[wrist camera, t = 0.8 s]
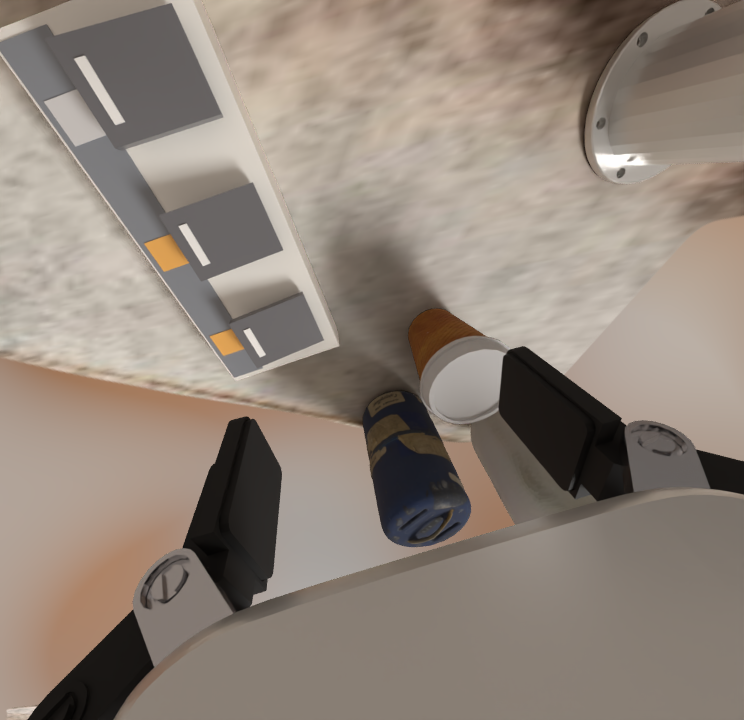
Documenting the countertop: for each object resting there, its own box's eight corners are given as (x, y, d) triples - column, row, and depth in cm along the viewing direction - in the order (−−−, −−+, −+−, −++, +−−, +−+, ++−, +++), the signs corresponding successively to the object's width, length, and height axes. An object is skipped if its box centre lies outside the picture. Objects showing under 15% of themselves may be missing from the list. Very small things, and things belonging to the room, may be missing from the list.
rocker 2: (302, 291, 27) (303, 294, 26) (322, 336, 30) (324, 340, 29) (229, 320, 26) (228, 324, 25) (257, 363, 29) (257, 368, 28)
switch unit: (200, -5, 20) (170, -49, 16) (337, 329, 35) (339, 349, 31) (40, 57, 20) (-28, 29, 16) (243, 361, 35) (233, 385, 31)
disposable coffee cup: (439, 278, 33) (491, 322, 23) (482, 328, 38) (541, 384, 28) (379, 334, 36) (402, 395, 26) (426, 375, 40) (461, 441, 30)
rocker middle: (253, 182, 22) (252, 182, 21) (282, 248, 25) (283, 250, 24) (162, 214, 21) (158, 215, 21) (203, 278, 24) (200, 281, 23)
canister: (348, 409, 42) (363, 541, 26) (404, 374, 40) (455, 494, 25) (384, 443, 46) (414, 571, 31) (435, 413, 45) (493, 534, 29)
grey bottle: (533, 400, 46) (752, 631, 23) (489, 442, 50) (638, 675, 27) (490, 378, 42) (702, 628, 19) (447, 425, 46) (577, 680, 23)
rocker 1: (176, 12, 17) (171, 2, 16) (223, 117, 20) (221, 113, 19) (55, 46, 17) (43, 37, 16) (121, 150, 19) (114, 148, 18)
